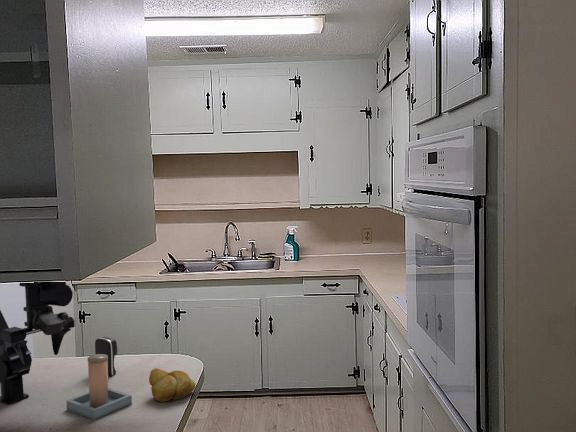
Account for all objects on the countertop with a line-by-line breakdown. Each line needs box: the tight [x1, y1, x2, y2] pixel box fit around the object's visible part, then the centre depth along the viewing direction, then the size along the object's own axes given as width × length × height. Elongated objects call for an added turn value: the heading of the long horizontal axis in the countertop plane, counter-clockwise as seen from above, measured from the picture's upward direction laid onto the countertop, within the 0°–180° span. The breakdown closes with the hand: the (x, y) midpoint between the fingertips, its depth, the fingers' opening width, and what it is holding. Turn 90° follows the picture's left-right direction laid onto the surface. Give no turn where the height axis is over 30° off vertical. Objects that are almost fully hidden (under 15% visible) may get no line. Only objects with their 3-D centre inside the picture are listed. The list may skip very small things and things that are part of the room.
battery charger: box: [94, 336, 118, 377], centre depth 184 cm, size 7×4×11 cm, turn 58°
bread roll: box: [148, 368, 196, 403], centre depth 165 cm, size 13×10×8 cm
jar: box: [87, 353, 109, 408], centre depth 158 cm, size 5×5×13 cm
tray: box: [66, 387, 133, 421], centre depth 159 cm, size 12×12×2 cm
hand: (40, 359), depth 159 cm, fingers open, 9 cm apart
